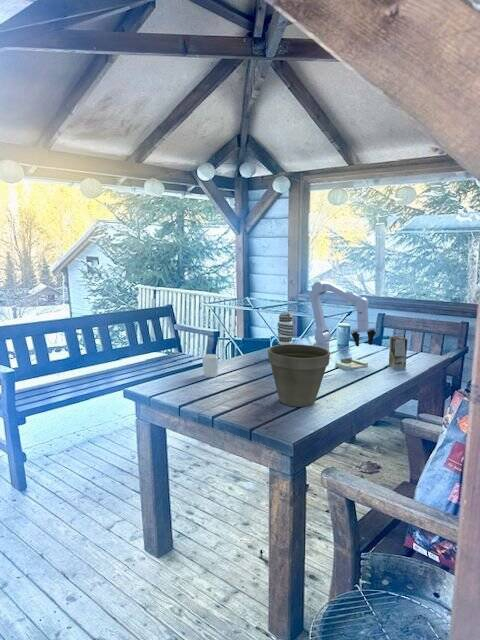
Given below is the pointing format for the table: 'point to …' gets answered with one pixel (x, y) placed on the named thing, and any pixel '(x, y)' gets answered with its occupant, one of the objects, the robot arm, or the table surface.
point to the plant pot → (298, 372)
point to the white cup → (210, 365)
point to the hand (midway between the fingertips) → (363, 345)
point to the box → (347, 367)
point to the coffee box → (398, 352)
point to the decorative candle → (285, 329)
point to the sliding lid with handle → (352, 363)
